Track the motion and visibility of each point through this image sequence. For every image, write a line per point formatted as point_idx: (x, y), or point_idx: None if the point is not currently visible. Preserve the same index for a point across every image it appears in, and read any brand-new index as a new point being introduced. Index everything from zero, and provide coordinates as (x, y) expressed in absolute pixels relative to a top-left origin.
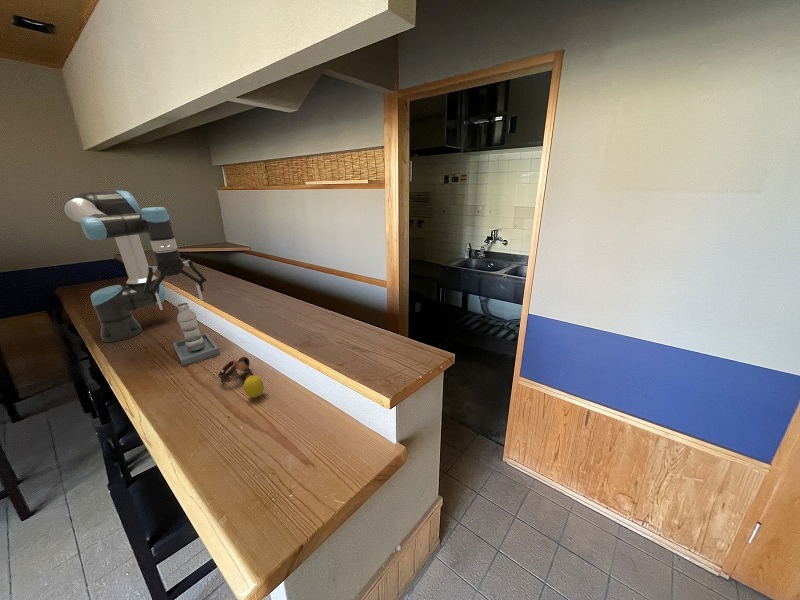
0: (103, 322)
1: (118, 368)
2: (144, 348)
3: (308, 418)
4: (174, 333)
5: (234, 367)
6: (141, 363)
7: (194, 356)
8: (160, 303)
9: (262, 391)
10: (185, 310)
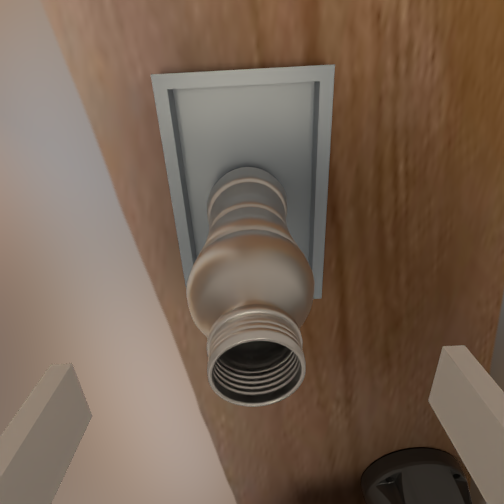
0: None
1: (498, 257)
2: (391, 357)
3: None
4: (291, 407)
5: None
6: (434, 242)
7: (271, 68)
8: (493, 408)
9: None
10: (246, 304)
